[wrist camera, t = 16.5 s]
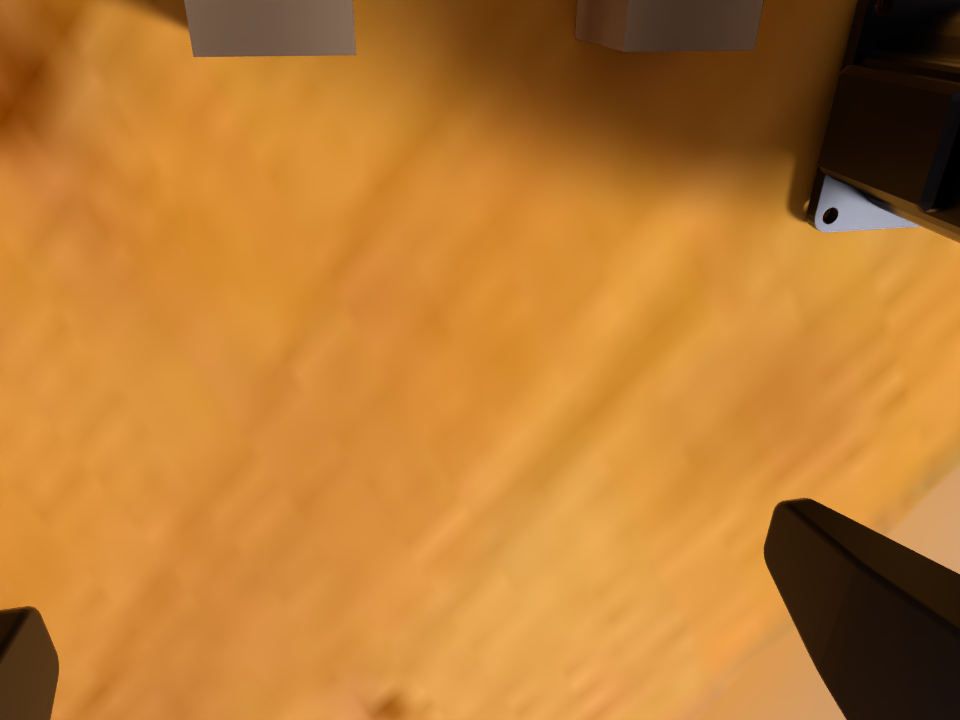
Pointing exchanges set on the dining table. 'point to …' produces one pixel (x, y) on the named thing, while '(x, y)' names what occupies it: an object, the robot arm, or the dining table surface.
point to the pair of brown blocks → (599, 20)
